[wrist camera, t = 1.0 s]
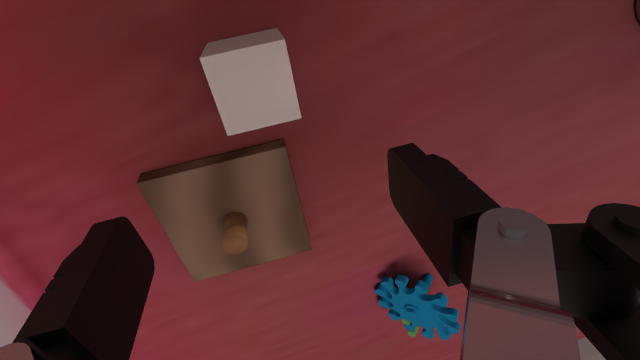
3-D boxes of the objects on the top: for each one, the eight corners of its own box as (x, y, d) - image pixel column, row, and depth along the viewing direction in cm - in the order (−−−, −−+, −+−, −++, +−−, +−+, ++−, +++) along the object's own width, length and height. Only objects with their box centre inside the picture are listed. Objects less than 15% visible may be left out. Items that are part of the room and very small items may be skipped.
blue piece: (376, 270, 37) (468, 316, 32) (397, 235, 40) (482, 272, 36) (369, 317, 44) (444, 360, 40) (387, 284, 48) (457, 319, 43)
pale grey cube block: (276, 27, 23) (284, 39, 19) (291, 95, 26) (301, 118, 22) (207, 42, 23) (199, 58, 19) (229, 109, 25) (227, 136, 21)
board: (283, 138, 28) (290, 165, 24) (309, 239, 34) (318, 273, 30) (141, 173, 27) (124, 207, 23) (196, 270, 33) (190, 309, 29)
